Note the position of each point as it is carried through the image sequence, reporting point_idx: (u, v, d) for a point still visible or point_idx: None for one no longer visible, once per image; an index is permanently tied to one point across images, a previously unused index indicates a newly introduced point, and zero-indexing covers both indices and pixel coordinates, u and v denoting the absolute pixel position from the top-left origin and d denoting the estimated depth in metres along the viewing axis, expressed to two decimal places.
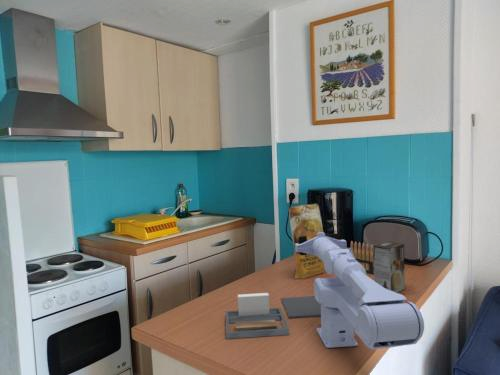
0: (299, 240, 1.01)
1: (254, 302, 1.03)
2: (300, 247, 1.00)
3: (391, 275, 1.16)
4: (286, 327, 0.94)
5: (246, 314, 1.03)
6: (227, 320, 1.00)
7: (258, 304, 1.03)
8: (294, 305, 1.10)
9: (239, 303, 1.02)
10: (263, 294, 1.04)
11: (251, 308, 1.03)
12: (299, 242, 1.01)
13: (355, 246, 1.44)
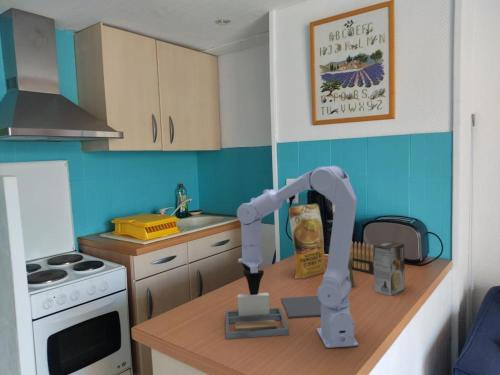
0: (247, 272, 0.97)
1: (254, 302, 1.03)
2: (253, 265, 0.97)
3: (391, 275, 1.16)
4: (286, 327, 0.94)
5: (246, 314, 1.03)
6: (227, 320, 1.00)
7: (258, 304, 1.03)
8: (294, 305, 1.10)
9: (239, 303, 1.02)
10: (263, 294, 1.04)
11: (251, 308, 1.03)
12: (249, 272, 0.97)
13: (355, 246, 1.44)
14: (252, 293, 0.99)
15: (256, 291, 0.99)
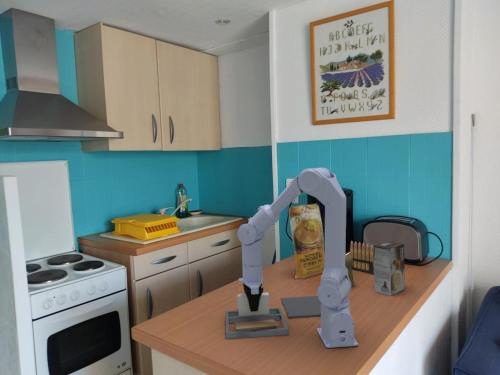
0: (247, 290, 1.00)
1: None
2: (253, 286, 0.97)
3: (391, 275, 1.16)
4: (286, 327, 0.94)
5: (246, 314, 1.03)
6: (227, 320, 1.00)
7: None
8: (294, 305, 1.10)
9: (239, 303, 1.02)
10: (263, 294, 1.04)
11: None
12: (249, 290, 1.00)
13: (355, 246, 1.44)
14: (252, 310, 1.02)
15: (256, 308, 1.02)
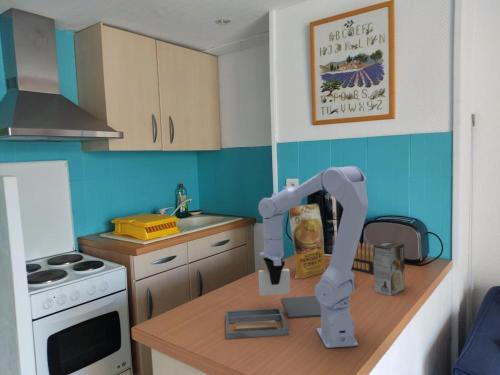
0: (269, 262, 1.02)
1: None
2: (276, 258, 0.99)
3: (391, 275, 1.16)
4: (286, 327, 0.94)
5: (267, 289, 1.04)
6: (227, 320, 1.00)
7: None
8: (294, 305, 1.10)
9: (260, 278, 1.04)
10: (283, 270, 1.05)
11: None
12: (271, 262, 1.02)
13: None
14: (273, 283, 1.04)
15: (277, 281, 1.04)
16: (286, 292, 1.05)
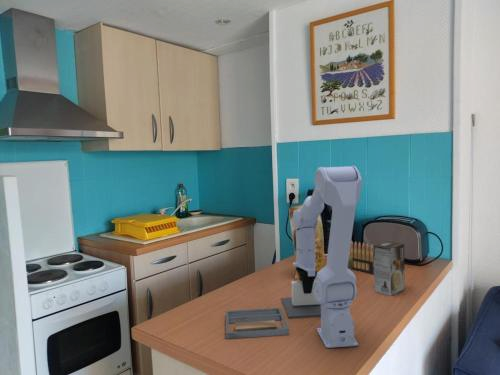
0: (302, 273, 1.06)
1: None
2: (310, 269, 1.03)
3: (391, 275, 1.16)
4: (286, 327, 0.94)
5: (299, 300, 1.09)
6: (227, 320, 1.00)
7: None
8: None
9: (294, 289, 1.08)
10: None
11: (304, 294, 1.09)
12: (304, 273, 1.06)
13: (355, 246, 1.44)
14: (306, 292, 1.08)
15: (310, 290, 1.08)
16: None
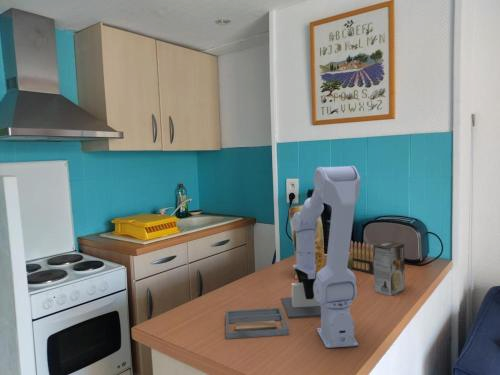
0: (304, 278, 1.03)
1: None
2: (310, 272, 1.03)
3: (391, 275, 1.16)
4: (286, 327, 0.94)
5: (299, 302, 1.09)
6: (227, 320, 1.00)
7: None
8: None
9: (293, 291, 1.08)
10: None
11: (304, 296, 1.09)
12: (306, 278, 1.03)
13: (355, 246, 1.44)
14: (308, 297, 1.06)
15: (312, 296, 1.06)
16: (318, 304, 1.09)
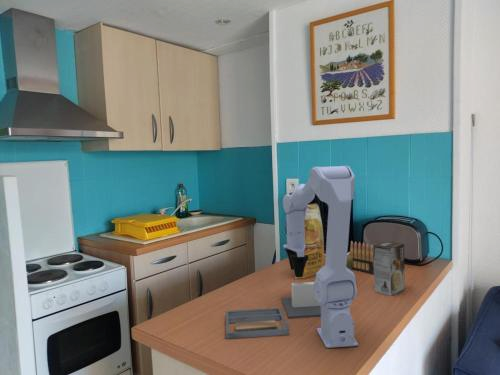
0: (294, 256, 1.08)
1: (307, 290, 1.09)
2: (299, 250, 1.07)
3: (391, 275, 1.16)
4: (286, 327, 0.94)
5: (299, 302, 1.09)
6: (227, 320, 1.00)
7: (311, 292, 1.09)
8: None
9: (293, 291, 1.08)
10: None
11: (304, 296, 1.09)
12: (296, 256, 1.08)
13: (355, 246, 1.44)
14: (297, 275, 1.10)
15: (301, 274, 1.10)
16: (318, 304, 1.09)
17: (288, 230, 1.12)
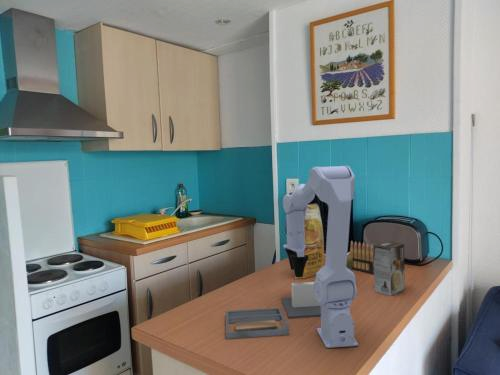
0: (294, 256, 1.08)
1: (307, 290, 1.09)
2: (299, 250, 1.07)
3: (391, 276, 1.16)
4: (286, 327, 0.94)
5: (299, 302, 1.09)
6: (227, 320, 1.00)
7: (311, 292, 1.09)
8: None
9: (293, 291, 1.08)
10: None
11: (304, 296, 1.09)
12: (296, 256, 1.08)
13: (355, 246, 1.44)
14: (297, 275, 1.10)
15: (301, 274, 1.10)
16: (318, 304, 1.09)
17: (288, 230, 1.12)
